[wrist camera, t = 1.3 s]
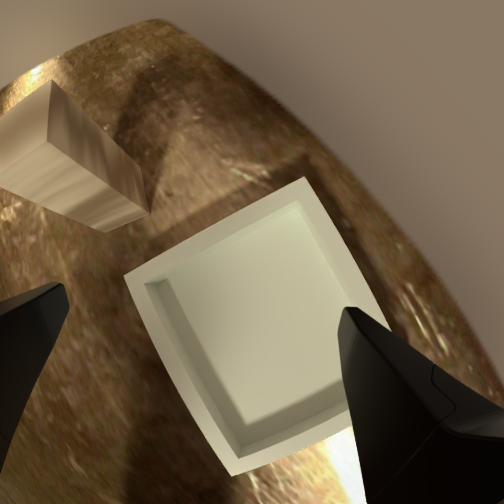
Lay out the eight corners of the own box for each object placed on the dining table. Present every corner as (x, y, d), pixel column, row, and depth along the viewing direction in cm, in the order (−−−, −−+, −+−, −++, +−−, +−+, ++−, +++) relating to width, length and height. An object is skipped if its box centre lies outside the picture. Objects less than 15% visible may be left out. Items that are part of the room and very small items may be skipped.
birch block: (150, 214, 24) (46, 141, 11) (104, 233, 24) (-10, 182, 11) (140, 167, 25) (52, 79, 12) (97, 187, 25) (-2, 119, 12)
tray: (237, 458, 20) (231, 476, 17) (141, 279, 23) (123, 275, 20) (400, 376, 20) (416, 385, 17) (301, 191, 23) (304, 176, 20)
